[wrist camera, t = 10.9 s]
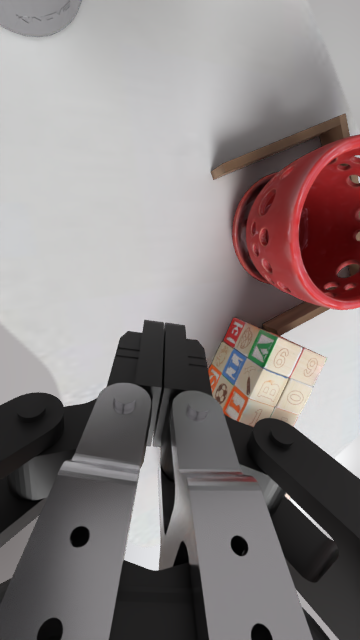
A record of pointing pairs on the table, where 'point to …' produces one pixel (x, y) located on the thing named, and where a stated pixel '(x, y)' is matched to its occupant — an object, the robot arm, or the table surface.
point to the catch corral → (325, 130)
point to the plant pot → (305, 226)
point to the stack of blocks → (262, 375)
